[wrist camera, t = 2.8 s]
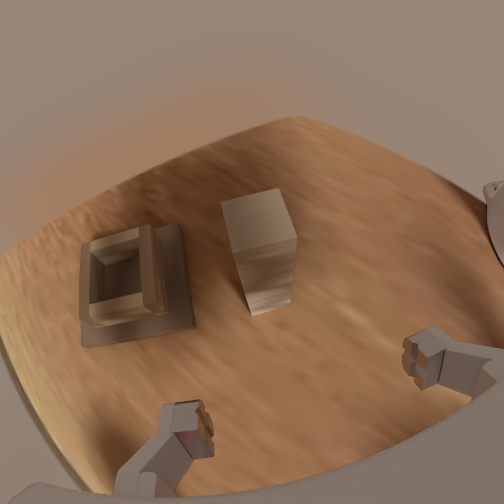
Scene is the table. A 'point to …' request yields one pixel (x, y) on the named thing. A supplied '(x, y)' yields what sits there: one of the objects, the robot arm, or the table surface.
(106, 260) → the wooden socket base
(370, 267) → the table surface
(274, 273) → the beige rectangular block
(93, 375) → the table surface
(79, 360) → the table surface
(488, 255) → the table surface
